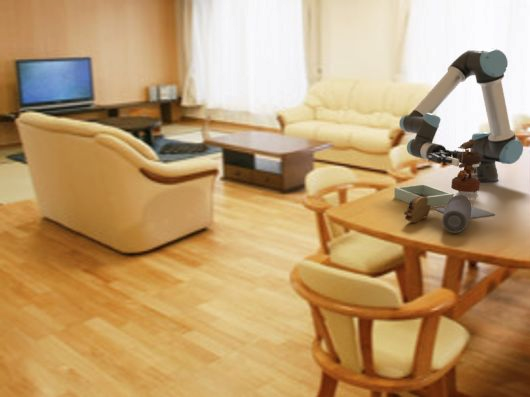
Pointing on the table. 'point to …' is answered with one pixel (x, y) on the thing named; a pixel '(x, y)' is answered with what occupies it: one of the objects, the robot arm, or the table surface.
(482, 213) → the slate mat
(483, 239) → the table surface
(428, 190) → the storage box
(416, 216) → the wooden carving
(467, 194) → the french press
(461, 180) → the dark brown irregular piece
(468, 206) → the bluetooth speaker
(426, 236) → the table surface
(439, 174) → the table surface
